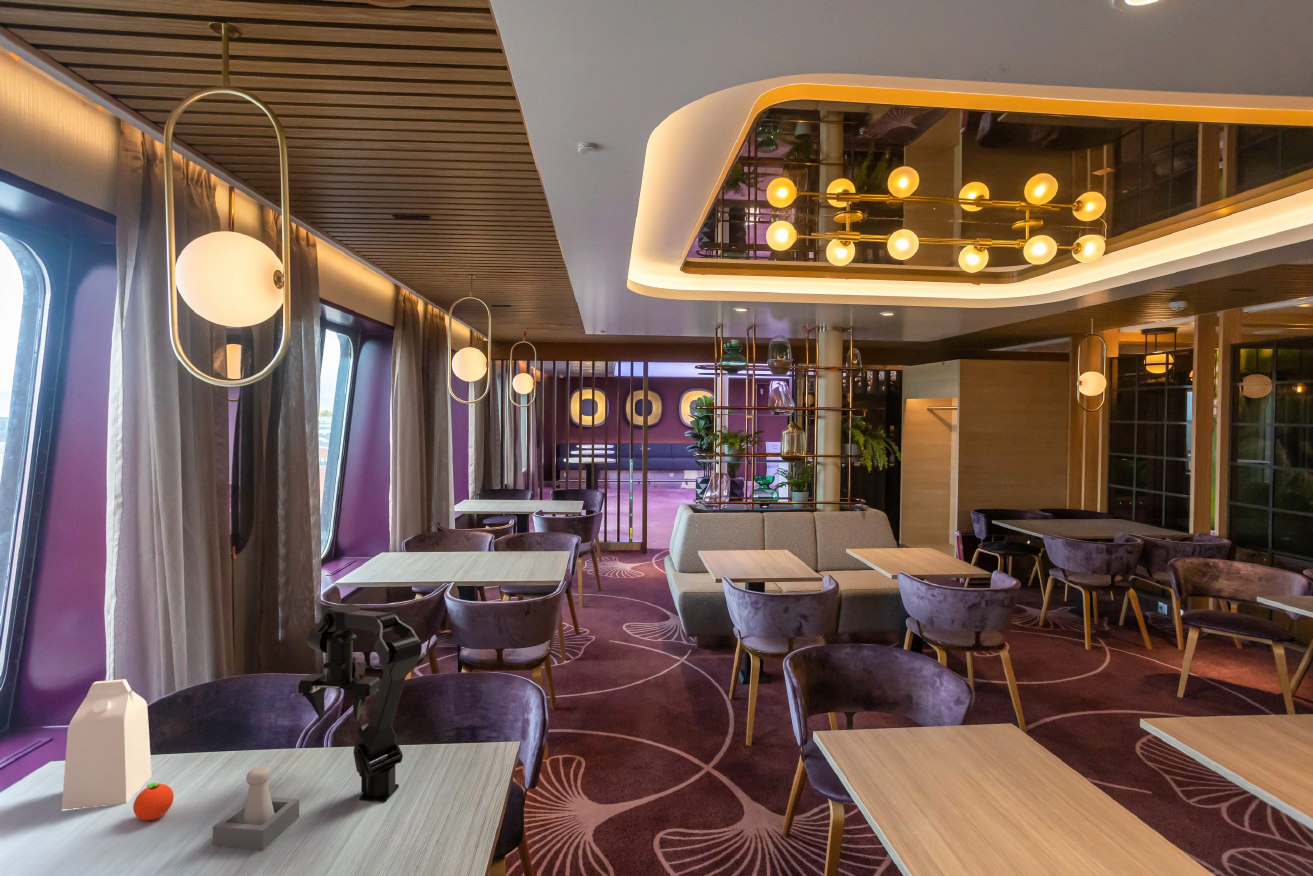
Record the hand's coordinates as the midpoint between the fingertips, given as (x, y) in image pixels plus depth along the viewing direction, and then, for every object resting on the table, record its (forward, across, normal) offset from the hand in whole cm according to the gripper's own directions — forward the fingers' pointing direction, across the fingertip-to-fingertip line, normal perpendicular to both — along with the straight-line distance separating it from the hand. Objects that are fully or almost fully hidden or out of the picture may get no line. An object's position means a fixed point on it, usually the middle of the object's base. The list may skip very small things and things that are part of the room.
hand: (339, 719), depth 157 cm
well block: (+13, +3, +24) cm, 27 cm away
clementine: (+13, +29, +22) cm, 39 cm away
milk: (+13, +47, +15) cm, 51 cm away
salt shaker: (+13, +3, +24) cm, 27 cm away
